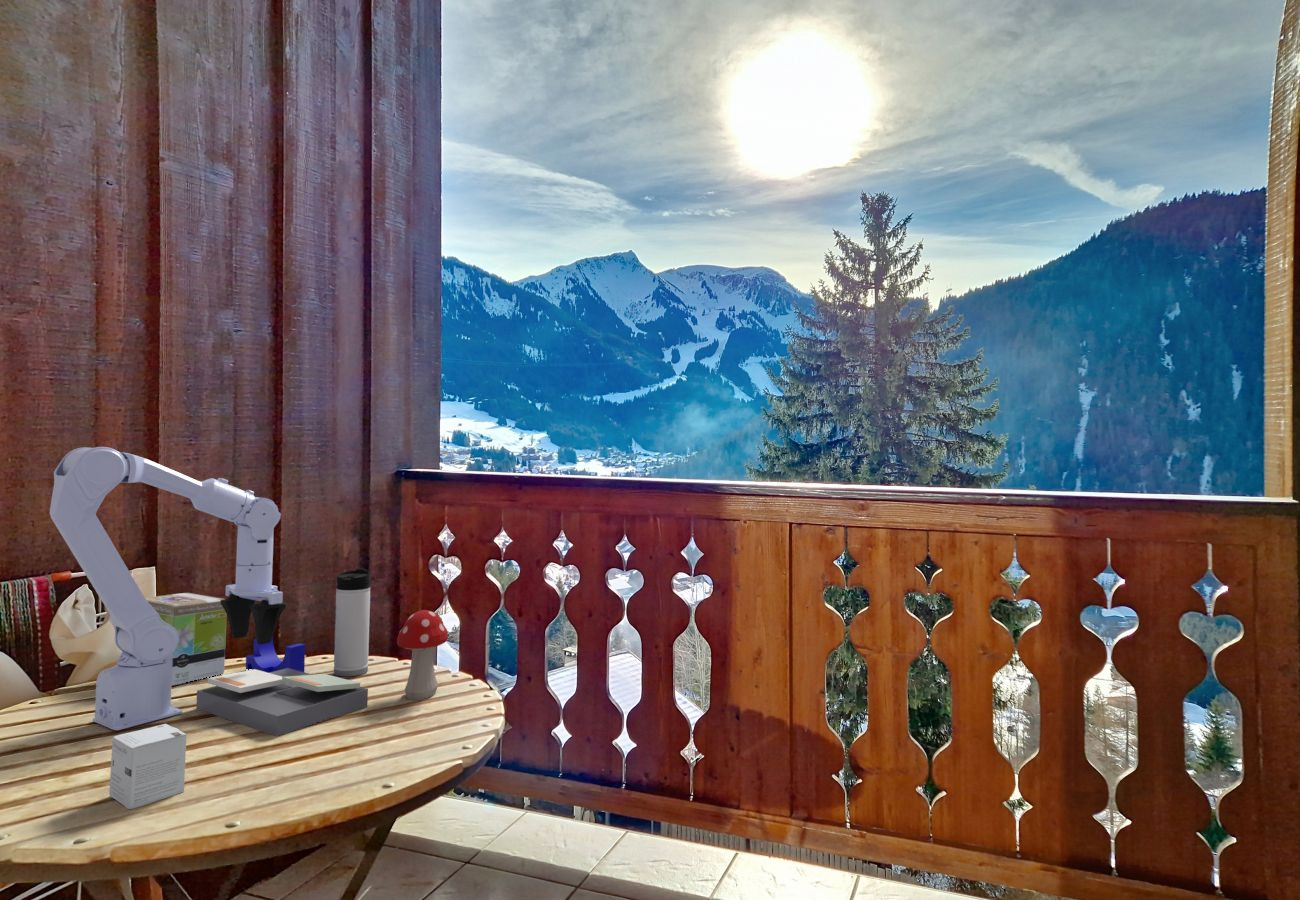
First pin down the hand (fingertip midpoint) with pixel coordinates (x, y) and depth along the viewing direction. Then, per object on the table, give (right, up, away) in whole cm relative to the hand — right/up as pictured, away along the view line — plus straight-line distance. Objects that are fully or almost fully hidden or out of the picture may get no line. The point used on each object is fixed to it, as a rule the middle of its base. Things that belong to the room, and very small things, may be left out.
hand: (251, 640), depth 126 cm
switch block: (+11, -9, -5) cm, 15 cm away
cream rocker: (+4, -5, -7) cm, 10 cm away
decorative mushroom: (+30, -10, +1) cm, 32 cm away
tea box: (-20, -10, +10) cm, 24 cm away
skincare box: (+9, -9, -39) cm, 41 cm away
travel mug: (+12, -10, +13) cm, 21 cm away
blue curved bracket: (-3, -10, +13) cm, 16 cm away
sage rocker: (+16, -5, -8) cm, 18 cm away
